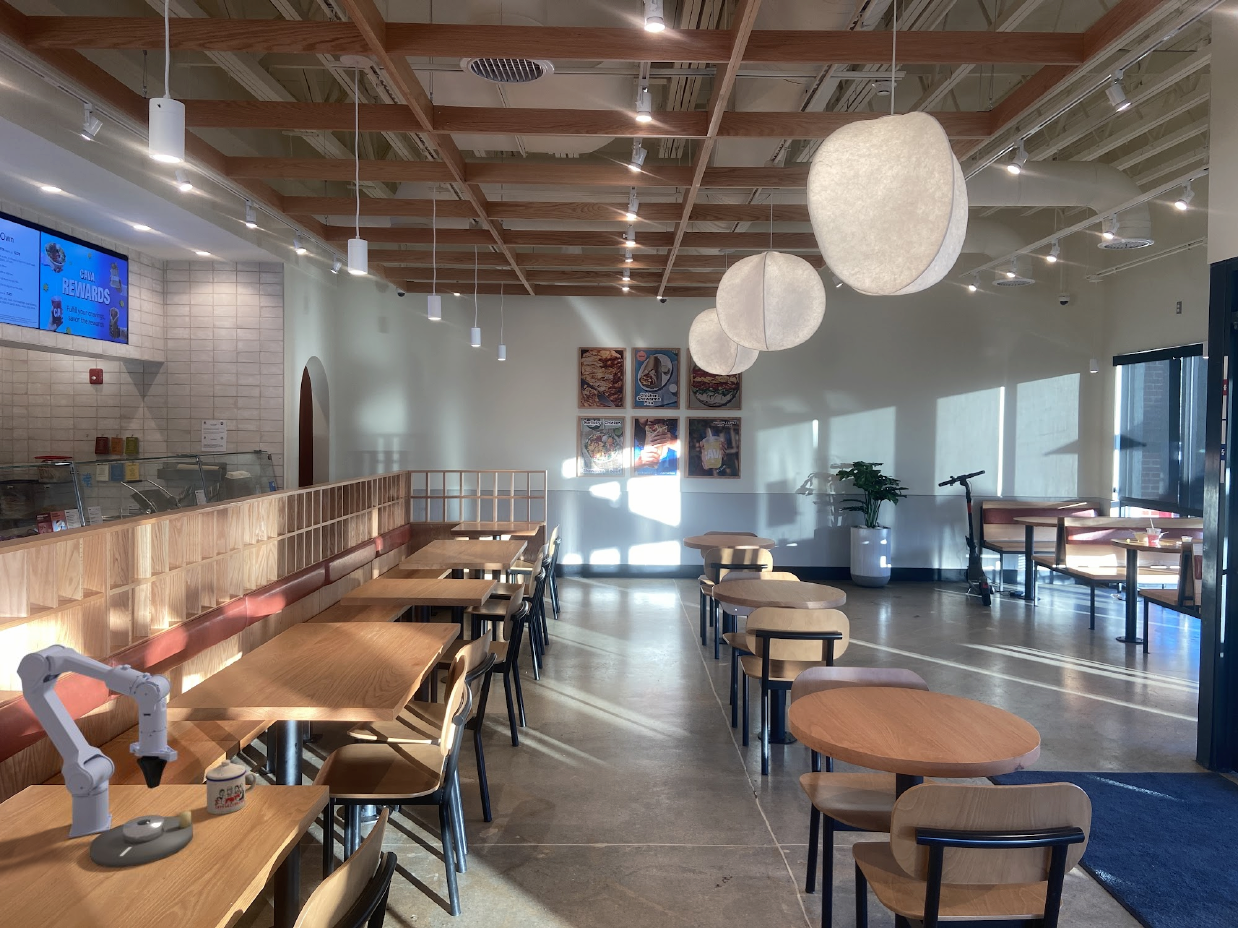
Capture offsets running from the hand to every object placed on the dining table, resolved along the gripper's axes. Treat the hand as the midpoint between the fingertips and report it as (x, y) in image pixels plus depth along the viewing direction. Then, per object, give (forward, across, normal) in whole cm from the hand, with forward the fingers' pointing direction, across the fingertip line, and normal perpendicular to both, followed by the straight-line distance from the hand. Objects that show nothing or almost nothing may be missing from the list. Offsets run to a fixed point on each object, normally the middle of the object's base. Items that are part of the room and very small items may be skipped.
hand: (153, 786), depth 196 cm
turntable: (+9, +7, -7) cm, 14 cm away
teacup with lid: (+10, +6, +16) cm, 20 cm away
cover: (+7, +7, -7) cm, 13 cm away
